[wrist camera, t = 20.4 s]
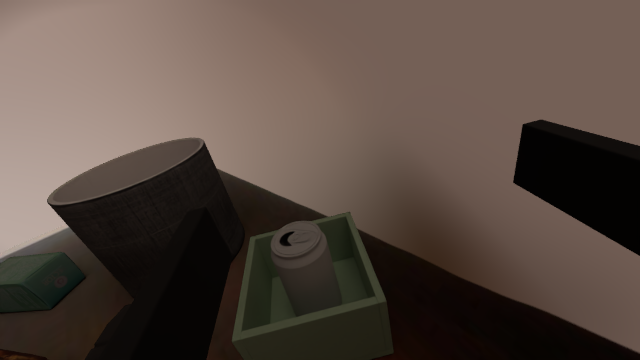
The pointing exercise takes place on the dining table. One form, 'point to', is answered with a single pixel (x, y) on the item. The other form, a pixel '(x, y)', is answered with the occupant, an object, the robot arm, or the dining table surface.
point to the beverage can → (305, 267)
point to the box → (36, 281)
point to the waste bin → (318, 327)
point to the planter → (145, 206)
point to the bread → (18, 356)
